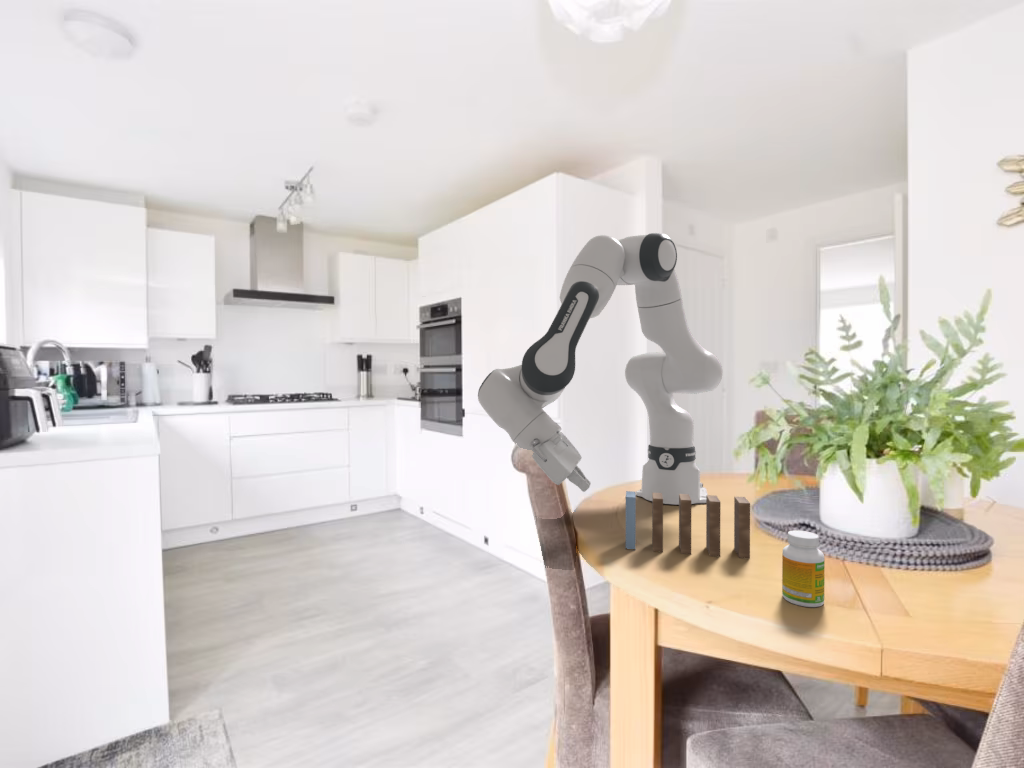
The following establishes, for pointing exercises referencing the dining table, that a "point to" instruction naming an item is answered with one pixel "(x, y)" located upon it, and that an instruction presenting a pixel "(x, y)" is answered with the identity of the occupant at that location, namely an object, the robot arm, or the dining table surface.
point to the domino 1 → (630, 519)
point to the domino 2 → (657, 522)
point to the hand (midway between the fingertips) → (587, 488)
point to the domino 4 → (713, 525)
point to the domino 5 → (742, 527)
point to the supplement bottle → (803, 570)
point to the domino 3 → (685, 523)
